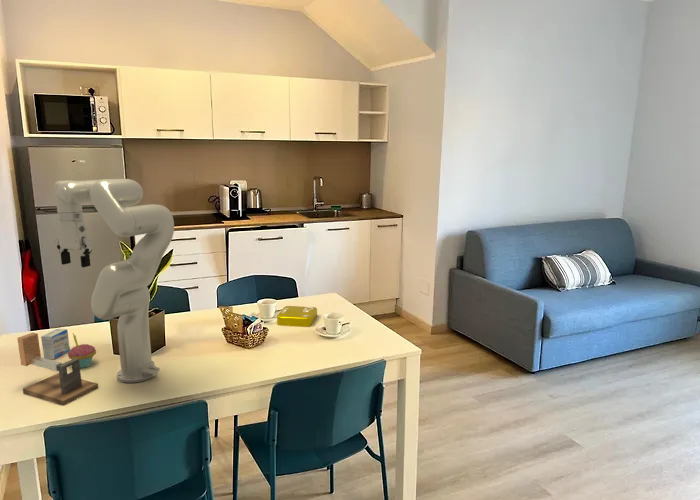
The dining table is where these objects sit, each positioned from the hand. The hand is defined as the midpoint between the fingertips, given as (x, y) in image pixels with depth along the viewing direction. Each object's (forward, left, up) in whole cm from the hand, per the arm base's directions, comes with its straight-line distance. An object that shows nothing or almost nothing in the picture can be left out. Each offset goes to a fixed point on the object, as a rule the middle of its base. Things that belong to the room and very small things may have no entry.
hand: (76, 265), depth 179 cm
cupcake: (-7, +7, -34) cm, 35 cm away
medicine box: (+9, +5, -34) cm, 35 cm away
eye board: (-17, +23, -33) cm, 44 cm away
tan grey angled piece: (-10, +23, -26) cm, 36 cm away
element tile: (-52, -63, -34) cm, 89 cm away
